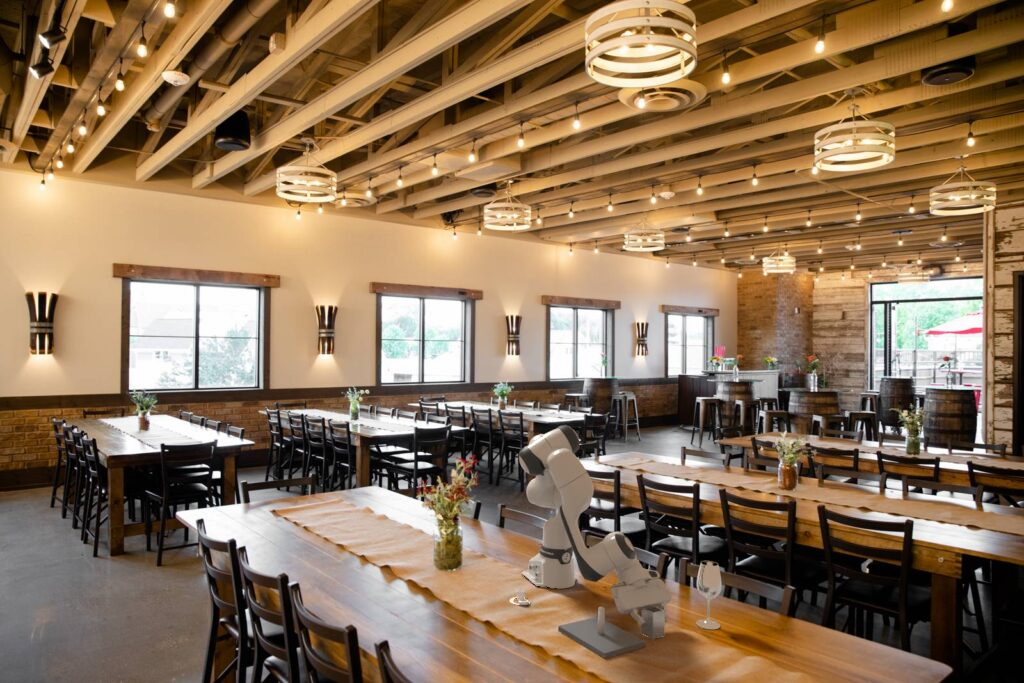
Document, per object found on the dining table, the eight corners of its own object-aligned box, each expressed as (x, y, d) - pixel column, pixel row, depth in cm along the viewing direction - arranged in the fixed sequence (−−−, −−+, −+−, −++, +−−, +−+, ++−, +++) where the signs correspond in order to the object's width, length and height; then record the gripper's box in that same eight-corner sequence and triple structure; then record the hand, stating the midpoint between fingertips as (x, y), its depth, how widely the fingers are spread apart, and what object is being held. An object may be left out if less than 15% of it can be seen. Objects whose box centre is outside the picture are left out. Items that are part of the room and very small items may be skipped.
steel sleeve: (641, 633, 210) (641, 608, 210) (652, 630, 212) (653, 605, 213) (652, 639, 206) (653, 613, 206) (664, 636, 208) (664, 610, 208)
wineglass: (703, 630, 214) (705, 567, 214) (691, 621, 221) (692, 560, 222) (725, 628, 216) (726, 566, 216) (711, 619, 223) (713, 559, 224)
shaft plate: (558, 630, 210) (559, 599, 210) (597, 621, 219) (598, 591, 219) (604, 658, 192) (605, 624, 192) (645, 646, 200) (646, 614, 201)
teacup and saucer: (529, 608, 229) (529, 596, 229) (506, 606, 231) (507, 594, 231) (533, 599, 238) (534, 587, 238) (512, 597, 239) (512, 585, 239)
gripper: (613, 580, 210) (633, 622, 201) (661, 571, 220) (682, 611, 212) (604, 590, 214) (623, 632, 205) (652, 580, 224) (672, 620, 216)
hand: (654, 621), depth 208 cm, fingers open, 8 cm apart
